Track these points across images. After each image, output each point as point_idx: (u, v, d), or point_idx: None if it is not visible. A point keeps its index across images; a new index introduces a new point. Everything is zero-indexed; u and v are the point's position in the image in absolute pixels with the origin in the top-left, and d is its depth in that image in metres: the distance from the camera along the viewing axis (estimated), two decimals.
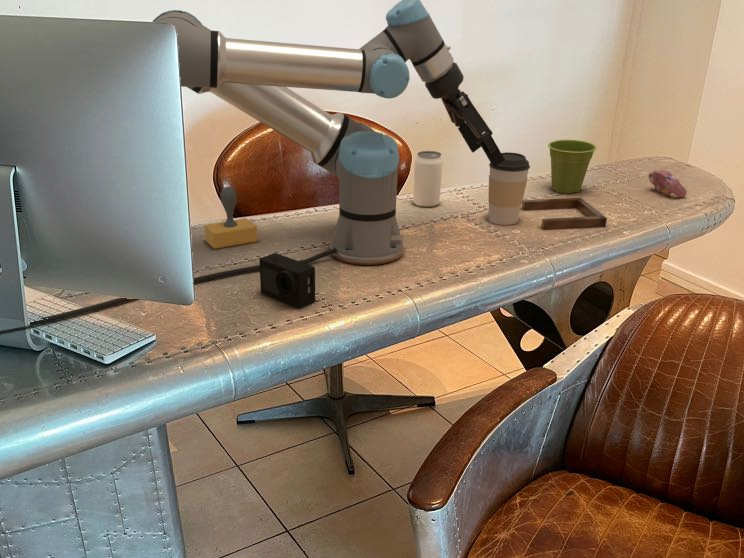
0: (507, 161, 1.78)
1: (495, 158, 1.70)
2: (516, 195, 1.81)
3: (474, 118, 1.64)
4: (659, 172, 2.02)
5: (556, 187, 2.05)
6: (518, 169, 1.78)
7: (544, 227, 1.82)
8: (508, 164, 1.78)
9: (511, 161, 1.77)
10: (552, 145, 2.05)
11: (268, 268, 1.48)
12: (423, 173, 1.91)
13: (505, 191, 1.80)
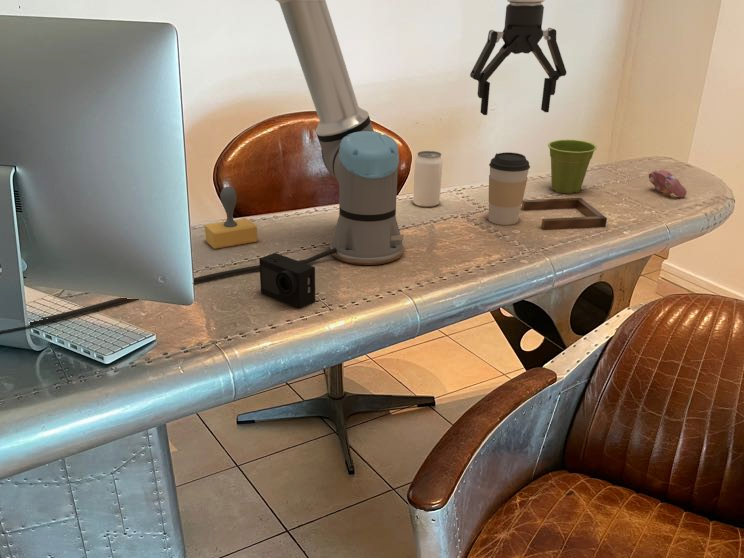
0: (507, 161, 1.78)
1: None
2: (517, 195, 1.81)
3: None
4: (659, 172, 2.02)
5: (556, 187, 2.05)
6: (518, 169, 1.78)
7: (544, 227, 1.82)
8: (508, 164, 1.78)
9: (511, 161, 1.77)
10: (552, 145, 2.05)
11: (268, 268, 1.48)
12: (423, 173, 1.91)
13: (505, 191, 1.80)
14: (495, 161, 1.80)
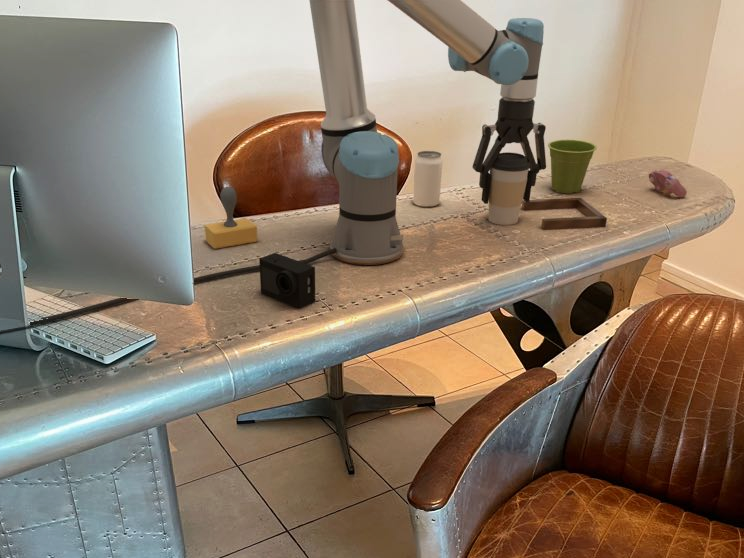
0: (507, 161, 1.78)
1: None
2: (517, 195, 1.81)
3: None
4: (659, 172, 2.02)
5: (556, 187, 2.05)
6: (518, 169, 1.78)
7: (544, 227, 1.82)
8: (508, 164, 1.78)
9: (511, 161, 1.77)
10: (552, 145, 2.05)
11: (268, 268, 1.48)
12: (423, 173, 1.91)
13: (505, 191, 1.80)
14: (495, 161, 1.80)
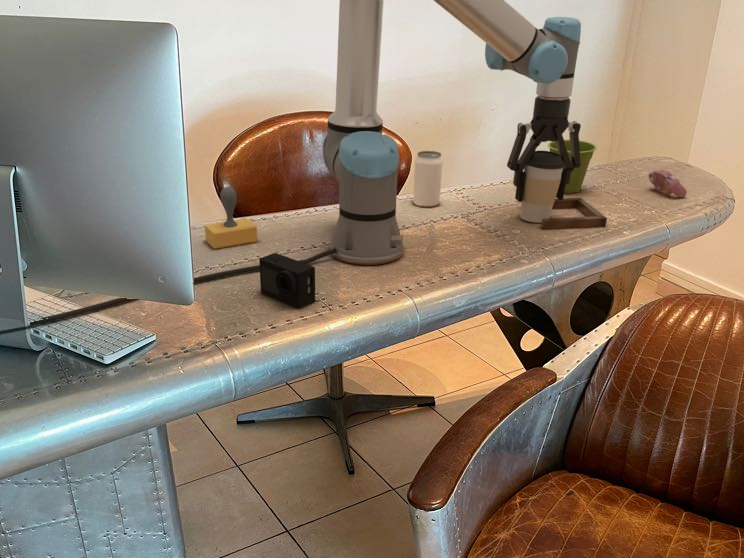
0: (543, 159, 1.78)
1: None
2: (550, 193, 1.82)
3: None
4: (659, 172, 2.02)
5: None
6: (553, 167, 1.78)
7: (544, 227, 1.82)
8: (544, 162, 1.78)
9: (546, 158, 1.78)
10: (552, 145, 2.05)
11: (268, 268, 1.48)
12: (423, 173, 1.91)
13: (539, 188, 1.81)
14: (530, 158, 1.80)
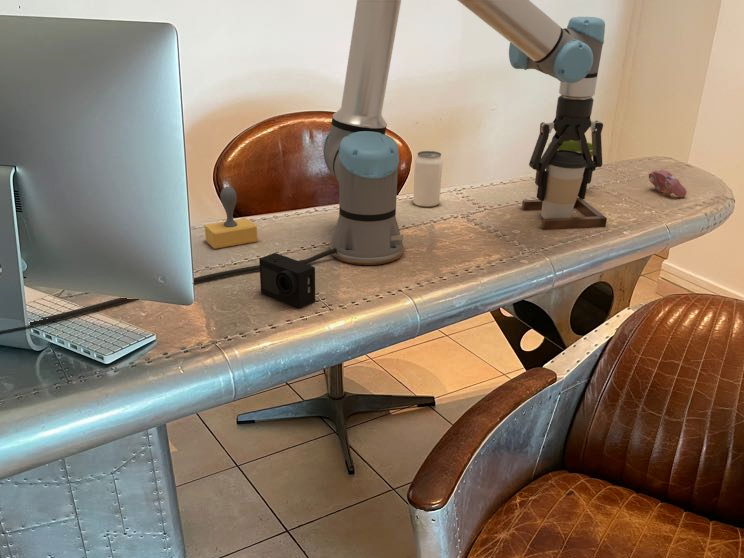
0: (565, 158, 1.79)
1: None
2: (572, 192, 1.83)
3: None
4: (659, 172, 2.02)
5: None
6: (576, 166, 1.79)
7: (544, 227, 1.82)
8: (566, 161, 1.79)
9: (569, 157, 1.79)
10: None
11: (268, 268, 1.48)
12: (423, 173, 1.91)
13: (561, 188, 1.82)
14: (553, 158, 1.81)
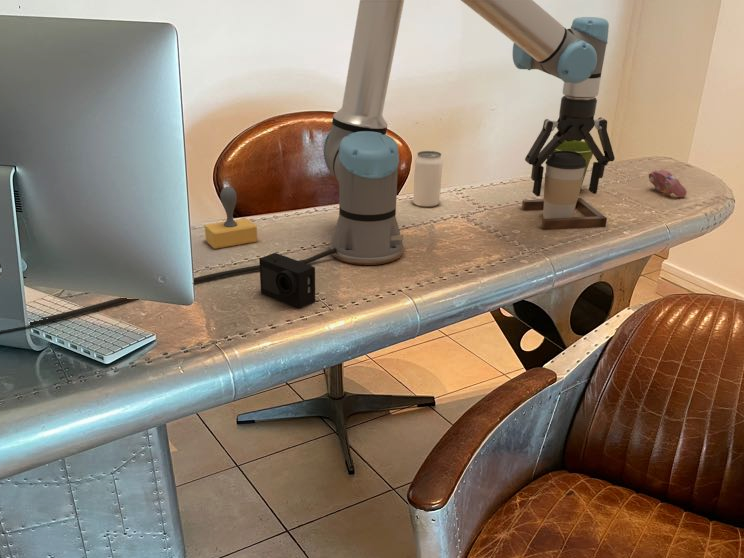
0: (564, 159, 1.79)
1: None
2: (573, 192, 1.83)
3: None
4: (659, 172, 2.02)
5: None
6: (575, 167, 1.79)
7: (544, 227, 1.82)
8: (565, 162, 1.79)
9: (568, 158, 1.79)
10: None
11: (268, 268, 1.48)
12: (423, 173, 1.91)
13: (562, 189, 1.82)
14: (552, 159, 1.81)
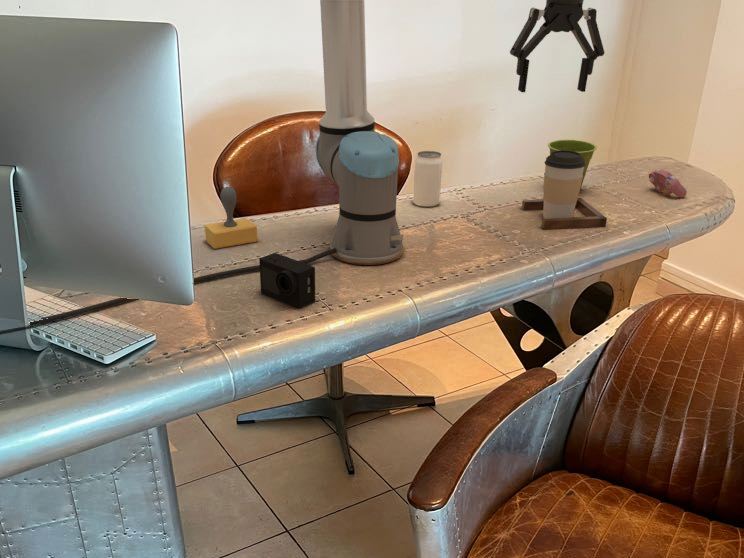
0: (563, 159, 1.79)
1: None
2: (573, 192, 1.83)
3: None
4: (659, 172, 2.02)
5: None
6: (575, 166, 1.79)
7: (544, 227, 1.82)
8: (565, 162, 1.79)
9: (567, 158, 1.79)
10: (552, 145, 2.05)
11: (268, 268, 1.48)
12: (423, 173, 1.91)
13: (561, 188, 1.82)
14: (551, 159, 1.81)
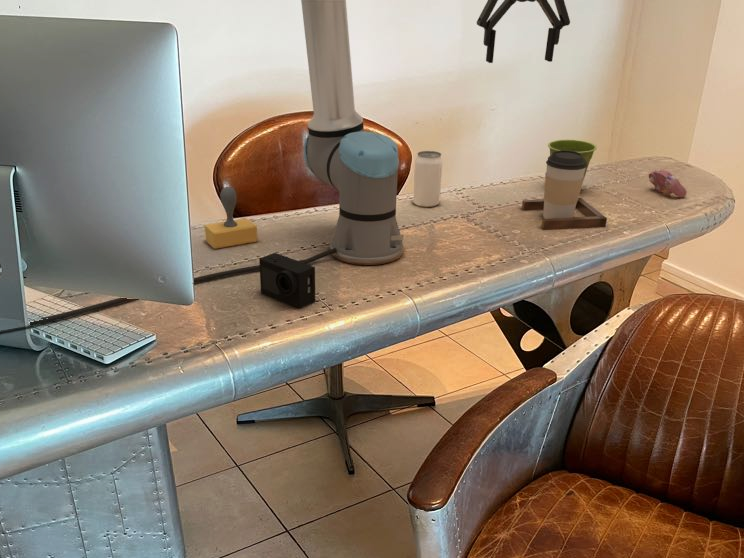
0: (565, 159, 1.79)
1: None
2: (574, 193, 1.83)
3: None
4: (659, 172, 2.02)
5: None
6: (577, 167, 1.79)
7: (544, 227, 1.82)
8: (567, 162, 1.79)
9: (569, 159, 1.79)
10: (552, 145, 2.05)
11: (268, 268, 1.48)
12: (423, 173, 1.91)
13: (563, 189, 1.82)
14: (553, 159, 1.81)
